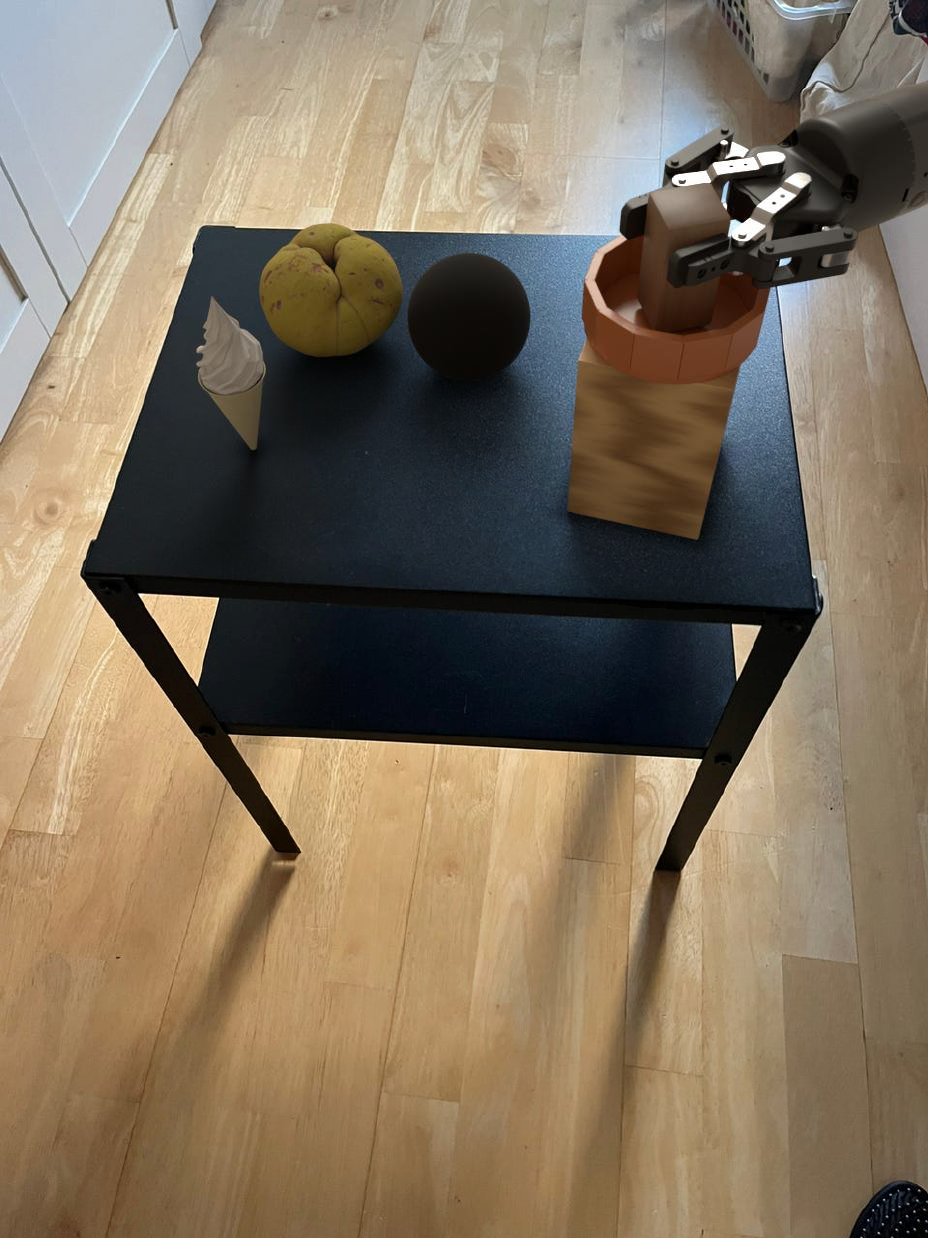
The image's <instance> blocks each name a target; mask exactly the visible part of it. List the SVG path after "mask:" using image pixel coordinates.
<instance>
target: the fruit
mask: <svg viewBox="0 0 928 1238" xmlns="http://www.w3.org/2000/svg"><path fill="white" fill-rule="evenodd" d="M258 288H259V300H260V305H261V308H262V311H263V313H264V316H265V318H266V320H267V323H268V325H269V327H270V329H271V331H272V332H273V334H274V335H275V336H276V337H277V338H278V339H279V340H280V341H281V342H282V343H283V344H285V345H287V347H289V348H291V349H292V350H295V351H297V352H299V353H302V354H304V355H306V356H309V357H310V356H311V357H315V358H329V357H343V356H349V355H353V354H356V353H358V352H360V351H362V350H363V349H365V348H367V347H368V346H370V345H371V344H373V343H374V342H376V341H377V340H378V339H379V338H381V337H382V336H383V335H384V334H385V333H386V332H387V331H389V329H390V328H391V326H392V325H393V324H394V322H395V320H396V319H397V317H398V316H399V313H400V311H401V307H402V304H403V297H404V289H403V283H402V279H401V275H400V271H399V269H398V267H397V263H396V262H395V260H394V259H393V257H392V255H391V254H390V253H389V252H388V250H387V249H385V247H383V246H382V245H381V244H380V243H379V242H377V241H375V240H373V239H371V238H369V237H366V236H362V235H361V234H360V235H359V234H358V233H357V232H356V231H354V230H353V229H351V228H350V227H347V226H345V225H341V224H338V223H333V222H332V223H331V222H325V223H324V222H323V223H317V224H312V225H309V226H307V227H305V228H303V229H301V230H300V231H299V232H298V233H297V234H296V235H294V237H293V238H292V239H291V240H290V242H289V243H288V244H286V245H285V246H283V247H281V248H280V249H279V250H278V251H277V252H276V254H275V255H274V256H273V257H272V258H271V259H270V260H269V261H268V262H267V264H266V265H265V266H264V268H263V270H262V273H261V276H260V280H259V287H258Z"/></svg>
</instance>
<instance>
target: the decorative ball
mask: <svg viewBox="0 0 928 1238" xmlns="http://www.w3.org/2000/svg"><path fill="white" fill-rule="evenodd" d="M531 317H532V316H531V306H530V302H529V298H528V295H527V291H526V289H525V287H524V285H523V284H522V282H521V281H520V279H519V277H518V276H517V275H516V273H515V272H513V271H512V269H511V268H509V267H508V266H507V265H506V264H504V263H503V262H501V261H500V260H498V259H496V258H495V257H492V256H489V255H486V254H482V253H477V252H476V253H475V252H462V253H461V252H460V253H456V254H453V255H449V256H447V257H444V258H441V259H440V260H439V261H438V260H437V262H435V263H434V264H432V265H431V266H430V267H429V268H428V269H427V270H426V271H424V273H422V274H421V276H420V278H418V281H416V284H415V286H414V287H413V290H412V291H411V295H410V297H409V301H408V306H407V328H408V333H409V336H410V340H411V342H412V345H413V347H414V349H415V351H416V353H417V354H418V356H419V357H420V358H421V359H422V360H423V362H425V364H426V365H427V366H429V367H430V368H431V369H432V370H434V371H435V372H437V373H438V374H440V375H442V376H444V377H446V378H448V379H452V380H455V381H460V382H461V381H462V382H476V381H477V382H478V381H481V380H486V379H489V378H492V377H494V376H496V375H498V374H500V373H501V372H503V371H505V370H506V369H507V368H508V367H510V365H512V363H514V361H515V360H516V359H517V358H518V357H519V355H520V354H521V352H522V350H523V348H524V347H525V344H526V342H527V339H528V337H529V332H530V328H531V319H532V318H531Z"/></svg>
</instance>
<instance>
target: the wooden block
mask: <svg viewBox="0 0 928 1238" xmlns="http://www.w3.org/2000/svg"><path fill="white" fill-rule="evenodd" d="M656 190H657V189H656ZM652 191H653V192H651V191H650V192H651V193H650V194H649V197H648V205H647V213H646V222H645V231H644V240H643V249H642V257H641V266H640V275H639V284H638V292H637V298H638V301H639V303H640V305H641V307H642V309H643V311H644V313H645V315H646V318H647V320H648V322H649V324H650V326H651V328H652V330H655V331H660V332H666V333H667V332H673V331H678V330H684V329H689V328H695V327H700V326H706V325H708V324H710V323H711V321H712V317H713V311H714V306H715V301H716V296H717V291H718V285H719V280H720V276H718V277H716V278H713V279H711V280H710V279H709V280H708V281H706V282H703V283H701V284H698V285H695V286H682V287H680V288H674V287H673V286H672V285H671V284H670V283H669V282H668V281H667V271H668V264H669V258H670V256H671V255H672V253H673V252H675V251H676V250H679V249H681V248H684V247H687V246H689V245H692V244H694V243H697V242H700V241H702V240H705V239H707V238H710V237H713V236H715V235H718V234H721V233H725V234H726V235H727V236H729V233H730V228H731V223H732V220H731V219H730V216H729V214H728V212H727V211H726V209H725V207H724V206H723V204H722V203H723V202H722V200H720V199H719V197H718V195H717V194H716V192H715V190H714V188H713V187H712V185H711V184H710V183H706V182H704V183H698V184H692V185H686V186H680V187H674V188H668V189H663V190H657V191H654V190H652Z"/></svg>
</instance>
